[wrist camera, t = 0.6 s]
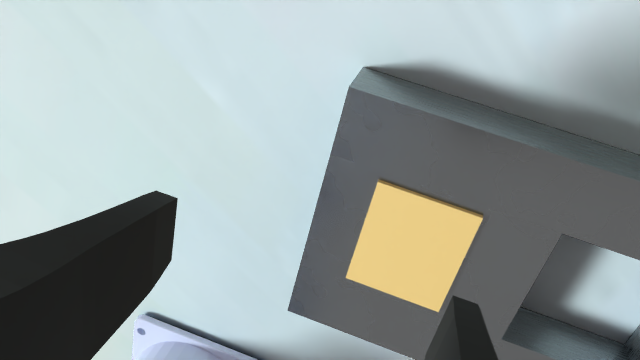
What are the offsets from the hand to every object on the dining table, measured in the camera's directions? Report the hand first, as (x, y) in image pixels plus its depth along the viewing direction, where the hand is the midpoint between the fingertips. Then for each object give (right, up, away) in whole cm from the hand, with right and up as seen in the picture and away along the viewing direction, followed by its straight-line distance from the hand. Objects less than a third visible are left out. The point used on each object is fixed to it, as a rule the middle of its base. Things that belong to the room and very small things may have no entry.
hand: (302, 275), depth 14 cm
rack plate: (+9, -1, +9) cm, 13 cm away
